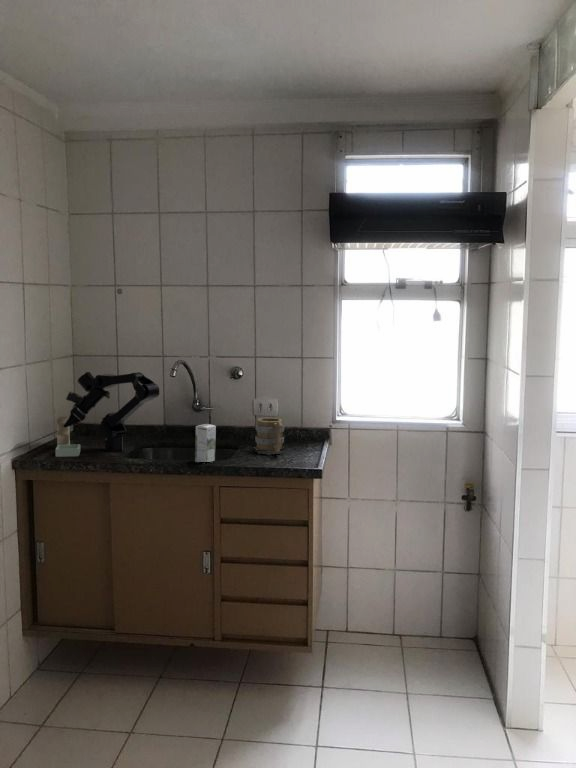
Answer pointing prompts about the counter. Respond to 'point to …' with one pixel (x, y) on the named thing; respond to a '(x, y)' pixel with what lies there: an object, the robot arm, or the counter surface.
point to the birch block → (63, 431)
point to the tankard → (269, 434)
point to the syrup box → (205, 443)
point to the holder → (67, 450)
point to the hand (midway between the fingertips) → (65, 425)
